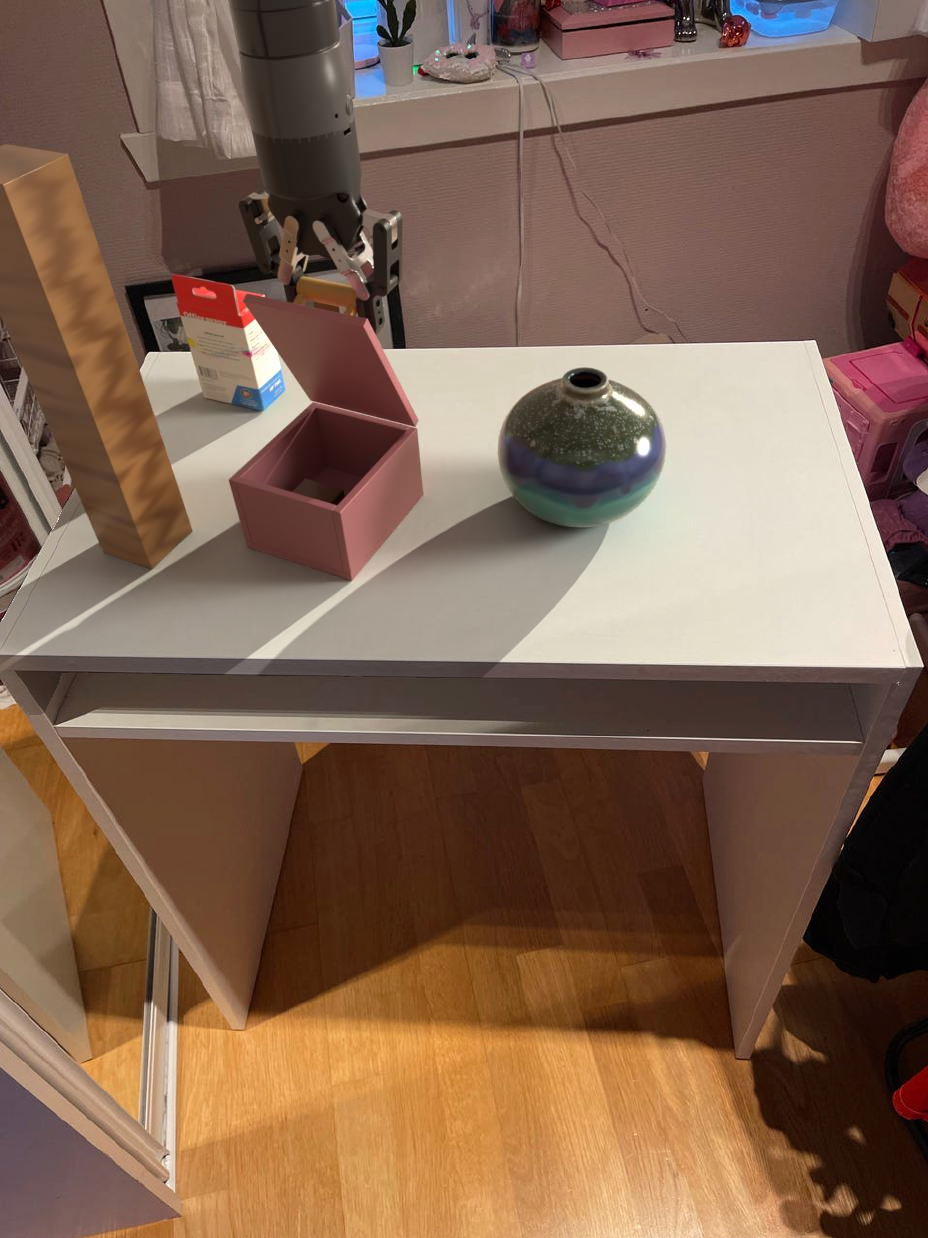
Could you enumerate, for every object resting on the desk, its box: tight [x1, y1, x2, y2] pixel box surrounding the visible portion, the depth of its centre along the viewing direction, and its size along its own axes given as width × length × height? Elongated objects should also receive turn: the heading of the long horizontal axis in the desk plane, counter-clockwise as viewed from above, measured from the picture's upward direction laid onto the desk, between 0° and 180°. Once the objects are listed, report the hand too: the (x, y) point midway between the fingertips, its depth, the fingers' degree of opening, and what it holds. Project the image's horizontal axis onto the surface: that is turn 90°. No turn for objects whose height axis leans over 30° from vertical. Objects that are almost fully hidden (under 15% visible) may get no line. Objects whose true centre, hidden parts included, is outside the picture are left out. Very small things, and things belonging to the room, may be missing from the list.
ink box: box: [171, 273, 286, 412], centre depth 98 cm, size 8×5×15 cm, turn 65°
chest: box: [228, 401, 424, 582], centre depth 84 cm, size 14×12×8 cm
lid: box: [243, 276, 419, 428], centre depth 79 cm, size 14×12×5 cm
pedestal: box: [0, 143, 194, 570], centre depth 74 cm, size 6×6×34 cm
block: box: [293, 479, 345, 506], centre depth 83 cm, size 4×4×4 cm
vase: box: [497, 366, 667, 528], centre depth 83 cm, size 15×15×13 cm
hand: (338, 327), depth 77 cm, fingers closed on lid, 6 cm apart
